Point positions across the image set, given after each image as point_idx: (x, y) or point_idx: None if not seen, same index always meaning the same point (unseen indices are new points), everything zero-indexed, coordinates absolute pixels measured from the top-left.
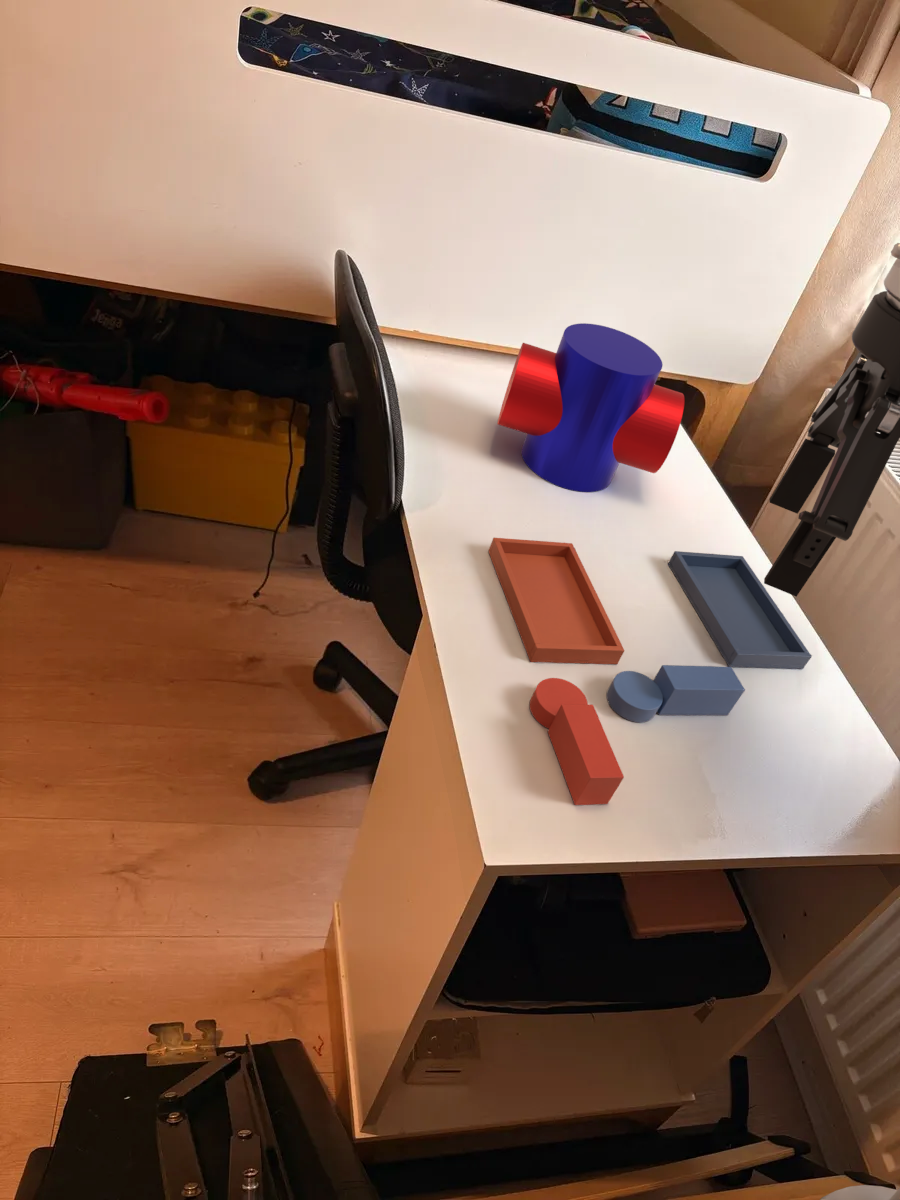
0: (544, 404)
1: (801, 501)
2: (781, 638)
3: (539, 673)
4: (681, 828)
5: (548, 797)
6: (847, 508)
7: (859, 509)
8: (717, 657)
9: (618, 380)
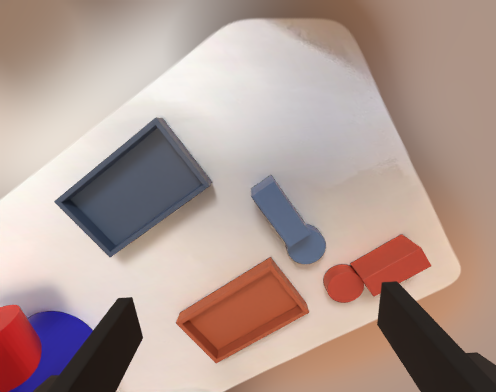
0: None
1: (121, 321)
2: (138, 144)
3: (312, 295)
4: (400, 187)
5: None
6: None
7: None
8: (206, 192)
9: None
